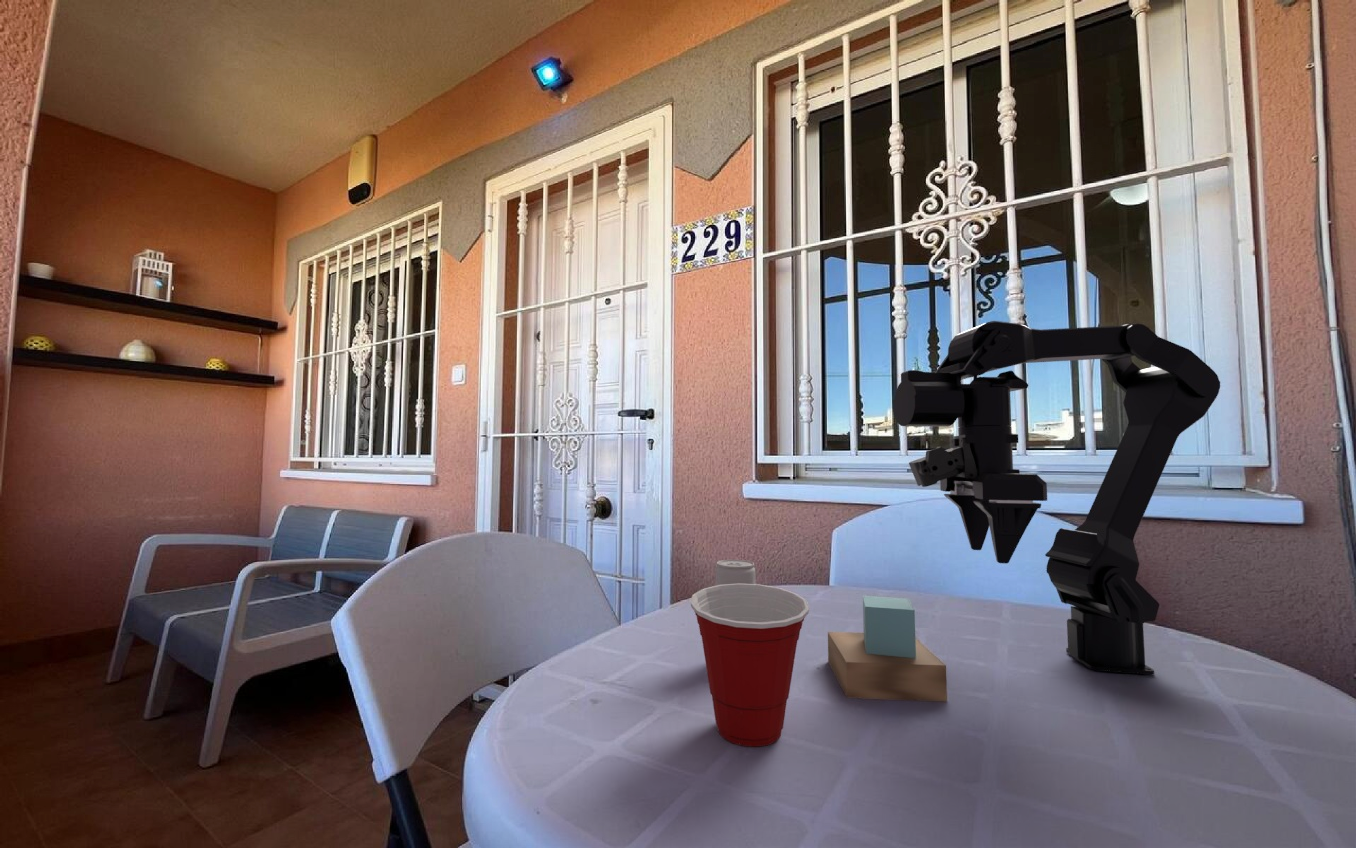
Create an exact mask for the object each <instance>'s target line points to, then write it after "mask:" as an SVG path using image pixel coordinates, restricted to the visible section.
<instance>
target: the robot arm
mask: <svg viewBox="0 0 1356 848" xmlns="http://www.w3.org/2000/svg"><path fill="white" fill-rule="evenodd" d="M1134 356H1135V357H1136V358H1137V359H1138V360H1139V361H1142V362H1144V363H1146V364H1149V365H1151V367H1147V368H1143V369H1141V368H1139V366H1137V365H1136V364H1135V363H1134V362H1133V360H1132V357H1134ZM1085 360H1086V361H1088V360H1101V361H1103V362H1104V363H1105V364H1106V365H1107V368H1108V371H1109V373H1110V375H1111V379H1112V381H1113V383H1114V384H1115V385H1116V386H1118V387H1119V388H1120V389H1121V391H1123V392H1124V393H1125V396H1124V399H1123V408H1124V412H1125V415H1126V416H1125V417H1126V419H1127V422H1128V423H1127V426H1126V429H1125V431H1124V433H1123V436H1122V437H1121V440H1120V442H1119V445H1118V446H1117V449H1116V451H1115V454H1114V456H1113V458H1112V460H1111V462H1110V464H1109V467H1108V469H1107V471H1106V473H1105V476H1104V478H1103V480H1102V482H1101V485H1100V487H1099V490H1098V491H1097V493H1096V496H1095V499H1094V500H1093V502H1092V504H1091V507H1090V509H1089V511H1088V513H1087V517H1086V518H1085V520H1084V522H1083V523H1082V524H1080V525H1079V526H1077V527H1076V528H1075V529H1069V528H1065V527H1063V528H1062V527H1061V528H1059V529H1058V530H1057V532H1056V533H1055V536H1054V541H1053V544H1052V546H1051V547H1050V549H1049V550H1048V551H1047V552H1046V553H1045V554H1044V555H1045V557H1046V558H1048V560H1047V563H1046V574H1048V576H1049V580H1050V582H1051V583H1052V585H1053V586H1054V588H1055V589H1056V591H1057V594H1058V597H1059V599H1060V602H1061V603H1062V604H1065V605H1067V604H1068V605H1070V618H1068V619H1067V620H1066V628H1067V629H1066V632H1067V633H1066V635H1067V647H1066V648H1065V652H1066V653H1067V654H1068V655H1070V656H1071V657H1072V658H1074V659H1075V660H1077V661H1078V662H1080V663H1081V664H1083V665H1084V666H1085V667H1087V668H1088V669H1089V670H1092V671H1097V672H1098V671H1101V672H1111V673H1124V674H1125V673H1126V674H1127V673H1128V674H1129V673H1130V674H1138V675H1139V674H1140V675H1153V676H1154V675H1155V670H1154V669H1153V668H1152V667H1150V666H1148V665H1147V664H1146V652H1145V651H1146V650H1145V636H1144V635H1145V634H1144V624H1145V623H1146V622H1155V621H1156V619H1157V616H1158V612H1159V608H1160V603H1159V601H1158V600H1157V599H1155V597H1153V596H1152V594H1150V593H1149V592H1148V591H1147V590H1146V589H1145V588H1144V587H1143V586H1142V585H1141V584H1140V583H1139V582H1138V580H1137V576H1138V573H1139V568H1140V562H1139V558H1138V554H1137V550H1136V546H1135V545H1136V544H1135V542H1134V539H1135V536H1136V533H1137V531H1138V529H1139V527H1140V525H1141V522H1142V520H1143V518H1144V515H1145V512H1146V510H1147V509H1148V507H1149V506H1148V505H1149V504H1150V501H1151V499H1152V497H1153V496H1154V492H1155V489H1156V488H1157V486H1158V484H1159V480H1160V479H1161V477H1162V474H1163V471H1164V470H1165V468H1166V465H1167V462H1169V461H1168V460H1169V458H1170V456H1171V453H1172V452H1173V448H1174V447H1175V444H1176V442H1177V440H1178V438H1179V437H1180V435H1181V434H1182V433H1183V432H1185V431H1186V430H1187V429H1189V428H1191V426H1193V425H1194V424H1195V423H1197V422H1198V421H1199V420H1201V419H1202V418H1203V417H1204V416H1205V415H1206V414H1207V412H1208V411H1209V409H1210V408H1211V406H1212V405H1213V403H1214V402H1215V401H1216V399H1217V397H1218V395H1219V393H1220V388H1221V381H1220V379H1219V376H1218V374H1217V373H1216V372H1215V370H1213V368H1211V367H1210V366H1209V365H1208V364H1207V363H1205V362H1204V361H1203V360H1202V359H1201V358H1200V357H1199V356H1198V355H1196V353H1195V352H1193V350H1191V349H1189V348H1187V347H1184V346H1182V345H1179V344H1177V343H1174V342H1172V341H1171V340H1167V339H1164V338H1162V337H1160V336H1158V335H1157V334H1156V333H1155V332H1154V331H1153V330H1151V329H1150V327H1148V326H1146V325H1145V324H1143V323H1142V324H1141V323H1135V322H1134V323H1133V322H1132V323H1130V322H1129V323H1126V324H1123V325H1109V326H1108V325H1107V326H1091V327H1090V326H1087V327H1069V328H1067V327H1065V328H1049V329H1048V328H1047V329H1038V328H1037V329H1036V328H1030V327H1029V326H1027V325H1024V324H1022V323H1015V322H1008V321H1003V320H1001V321H999V320H991V321H986V322H984V323H982V324H980V325H978V326H975V327H973V328H970V329H968V330H965V331H963V332H960V333H958V334H955V335H954V336H953V338H952V339H951V340H950V343H949V345H948V349H947V356H945V358H944V360H942V362H941V364H940V365H939V366H938V367H937V369H936V370H935V372H934V371H922V370H917V369H914V370H913V369H909V370H905V371H903V372H901V374H900V383H899V384H898V385H897V388H896V391H895V394H894V399H892V409H893V410H892V411H893V416H894V419H895V421H896V423H897V424H898V425H899V426H901V427H932V428H933V427H936V428H937V427H939V428H941V427H942V428H943V427H945V428H946V427H947V428H948V427H950V426H952V425H954V423H955V422H956V421H957V427H958V428H957V431H958V432H957V435H955V436H953V438H951V441H950V442H951V447H950V448H948V449H944V448H943V447H942V446H936V448H933V449H928V450H926V451H925V456H923V457H921V458H917V459H915V460H911V461H910V462H908V465H909V467H910V470H911V472H912V474H913V477H914V479H915V482H916V484H917V485H916V486H918V487H920V486H921V487H923V488H925V487H929V486H933V485H936V484H938V482H940V485H939V486H940V487H939V488H940V492H945V493H944V494H943V495H944V497H945V498H946V499H948V500H949V501H951V502H952V503H953V504H954V505H955V506H956V507H957V509H958V511H959V513H960V516H961V520H962V524H963V527H964V529H965V530H964V531H965V533H966V537H967V539H968V543H969V546H970V549H971V550H972V551H981V550H983V549H982V548H983V546H984V543H985V541H986V538H987V534H988V530H990V531H989V532H990V535H991V541H992V546H993V552H994V555H995V559H996V562H997V563H999V564H1009V563H1010V561H1011V558H1012V557H1013V555H1014V553H1015V551H1016V550H1017V547H1018V545H1019V544H1020V541H1021V539H1022V537H1023V535H1024V534H1025V532H1026V530H1027V528H1028V526H1029V525H1030V522H1031V521H1032V519H1033V518H1034V516H1035V514H1036V512H1037V510H1038V509H1041V508H1042V503H1041V502H1046V501H1047V502H1048V488H1047V487H1048V484H1047V482H1046V481H1045V480H1044V479H1043V478H1042V477H1040V476H1039V475H1038V474H1034V473H1020V472H1021V471H1020V469H1016V468H1014V459H1013V444H1019V434H1014V433H1013V431H1012V405H1011V403H1012V402H1011V393H1012V392H1014V391H1021V390H1026V389H1028V387H1029V383H1028V382H1027V381H1025V380H1024V379H1022V378H1020V377H1019V376H1018V375H1017V374H1016V373H1015V372H1014V371H1013V370H1008V371H1003V372H999V374H998V375H997V376H981V375H984V374H985V373H988V372H993V371H997V370H1001V369H1006V368H1009V367H1013V366H1017V365H1021V364H1031V363H1049V362H1050V363H1052V362H1070V361H1085ZM973 377H976V378H973ZM970 378H973V380H972V381H970V383H962V380H966V379H970ZM1012 433H1013V434H1012ZM946 492H950V493H946Z"/></svg>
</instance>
